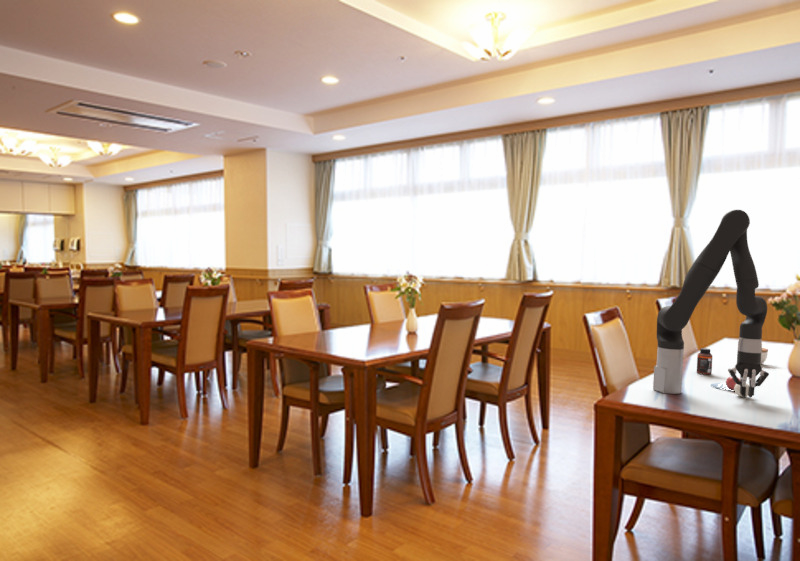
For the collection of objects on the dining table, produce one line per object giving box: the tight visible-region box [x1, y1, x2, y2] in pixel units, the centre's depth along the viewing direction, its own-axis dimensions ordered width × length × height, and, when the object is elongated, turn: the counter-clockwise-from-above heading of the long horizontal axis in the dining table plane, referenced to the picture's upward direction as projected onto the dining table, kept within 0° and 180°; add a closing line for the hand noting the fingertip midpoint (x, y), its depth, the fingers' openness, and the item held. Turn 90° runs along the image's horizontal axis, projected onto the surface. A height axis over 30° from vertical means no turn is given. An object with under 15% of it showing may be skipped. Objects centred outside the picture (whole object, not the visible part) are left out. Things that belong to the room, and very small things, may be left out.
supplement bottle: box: [696, 347, 713, 376], centre depth 251 cm, size 6×6×11 cm
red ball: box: [725, 376, 740, 390], centre depth 222 cm, size 6×6×6 cm
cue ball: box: [734, 382, 750, 398], centre depth 212 cm, size 6×6×6 cm
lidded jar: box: [761, 347, 769, 365], centre depth 278 cm, size 11×11×9 cm
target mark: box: [710, 382, 731, 392], centre depth 226 cm, size 14×14×1 cm
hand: (746, 396), depth 207 cm, fingers closed
